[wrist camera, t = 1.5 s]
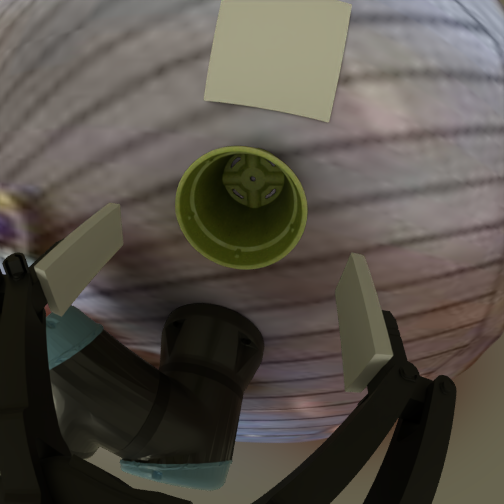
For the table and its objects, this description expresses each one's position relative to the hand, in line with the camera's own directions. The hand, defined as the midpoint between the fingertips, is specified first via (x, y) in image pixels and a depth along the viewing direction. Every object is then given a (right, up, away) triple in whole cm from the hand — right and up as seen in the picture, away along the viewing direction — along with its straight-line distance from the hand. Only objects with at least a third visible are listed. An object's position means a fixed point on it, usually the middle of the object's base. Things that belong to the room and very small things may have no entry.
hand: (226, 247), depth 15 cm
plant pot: (+2, +7, +12) cm, 14 cm away
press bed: (+4, +18, +4) cm, 19 cm away
